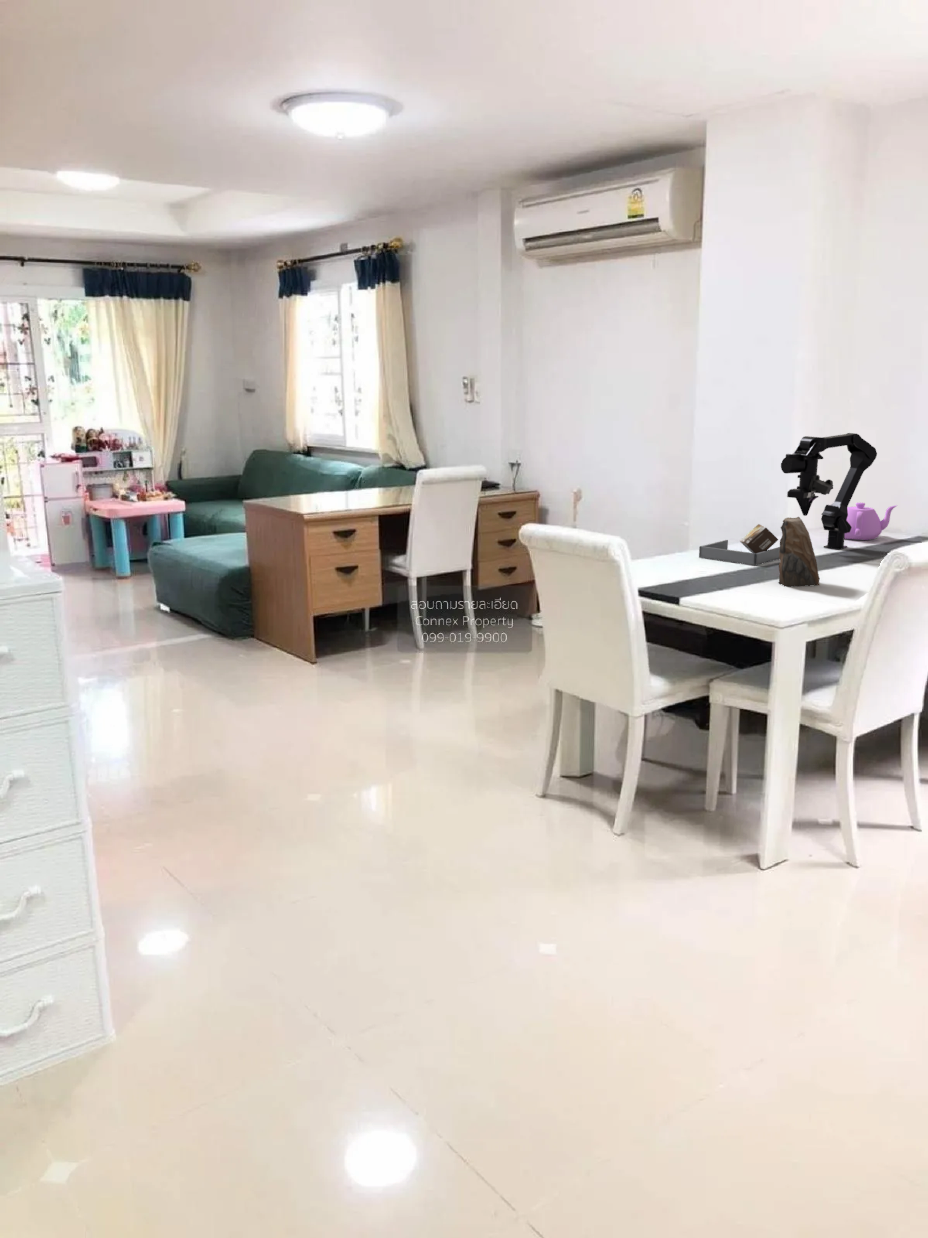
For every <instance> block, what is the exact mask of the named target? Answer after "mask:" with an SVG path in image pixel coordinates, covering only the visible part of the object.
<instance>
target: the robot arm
mask: <svg viewBox="0 0 928 1238" xmlns="http://www.w3.org/2000/svg"><path fill="white" fill-rule="evenodd" d="M844 446H846V447H847V451H848V452H849V453H850V457H849V463H850V465H849V466H850V467H849V469H848V471H847V473H846V475H845V477H844V480H843V482H842V485H841V486H840V488H839V491H838V493H837V494H836V497H835V499H834V501H833V502H832V503H831V504H826V505H825V506H824V509H823V512H822V513H821V519H820V520H821V523H822V526H823V527H822V528H823V530H824V531H828V536H827V545H823V548H826V549H835V550H843V549H847V548H848V545H845V533H849V532H850V530H851V528H852V527H851V525H850V524H849V523H848V522H847V517H848V510H847V507H849V504H850V503H851V499H852V498H853V495H854V493H855V491H856V489H857V487H858V485H859V483H860V481H861V478H862V476H863V474H864V472H865V471H866V470H867V469H869V468H870V467H871V466H872V464H873V463H874V462H875V460H876V458H877V455H878V452H877V450H876V447H874V446H872V444H871V443H869V442H868V441H866V440H865V439H864V438H862V436H861V435H860V434H858V433H852V432H847V433H845V434H836V435H830V436H824V437H821V436H820V437H818V436H809V435H808V436H803V437H801V440H800V441H799V443H798V444H797V446H796V447H795V449H794V451H793V452H792V454H791V453H786V454H785V457H784V458H783V459H782V461H781V462H780V469H781V471H782V472H783V473H784V474H797V479H799V484H798V486H796V488H791V489H789V490H788V491H787V493H786V494H787V495H786V497H787V498H790V499H791V498H792V499H796V502H797V504H798V506H799V509H800V511H801V513H802V516H804V517H805V516H808V514H809V511H810V509H811V507H812V504H813V502H814V500H816V499H817V498H820V497H819V495H816V494H820V495H823V496H824V495H825V496H826V495H829V494H830V493H831V491H832V490H833V489H834V483H833V480H831V479H826V480H821V479H820V474H818V468H819V467H818V464H819V460H823V459H824V456H822V455H821V454H820V453H822V452H824V451H825V450H827V449H831V448H832V449H833V448H838V447H844Z"/></svg>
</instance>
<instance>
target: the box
mask: <svg viewBox="0 0 928 1238" xmlns="http://www.w3.org/2000/svg"><path fill="white" fill-rule="evenodd" d="M728 545H729V540H728V539H725V540H719V541H715V542H713V543H708V544H707V543H706V544H703V545H700V546H699V549H698V550H699V551H698V558H700V559H706V560H712V561H713V560H714V561H719V560H720V561H719V562H721V561H722V562H727V563H734V564H740V563H741V565H748V566H753V567H757V566H760V565H763V564H767V563H771V562H774V561H776V560H777V561H778V560H780V558H779V548H780V546H778V547H777V546H776V547H774V548H769V549H768V550H767V551H763V552H759V553H756V554H755V553H752V552H750V551H748V552H747V551H742V550H741V551H740V550H733V549H729V548H728V547H729V546H728ZM773 560H774V561H773ZM762 563H763V564H762Z"/></svg>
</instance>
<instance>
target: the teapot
mask: <svg viewBox="0 0 928 1238" xmlns="http://www.w3.org/2000/svg"><path fill="white" fill-rule="evenodd" d="M897 506H898V505H897V504H896V505H892V506H888V508H887V509H886V510H885V515H884V518H883V519H880V517H879V515H878V513H877V511H876V510H875V508H873V507H869V506H866V503H865V502H855V506H848V507H847V510H848V517H847V522H848V523H849V524H850V525H851V527H852V528H851V530H850V532H849V533H845V538H844V540H862V541H870V540H875V539H877V538H879V536H880V535H881V534H882V532H883V531H884V530H885V529H886V528H888V526H889V524H890V520H891V513H892V512H893V510H894V509H895V508H896V507H897Z"/></svg>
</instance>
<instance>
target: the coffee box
mask: <svg viewBox="0 0 928 1238" xmlns="http://www.w3.org/2000/svg"><path fill="white" fill-rule="evenodd" d="M778 541H779V539H778V538H777V536H775V534H774V533H773V532H771V531H770V529H768V527H766V526H764V525H762V524H759V523H758V524H756V525H755V526H754V527H753V528H752V529H751V530H750V531H749V532H748V533H746V534H745V535H744V536H743V537H742V538H741V539H740V540H739V542H740V543H741V544H742V545H743V547H745V548H746V549H747V550H748V552H749V553H755V554H756V553H759V552H763V551H767V550H770V549H771V547H772V546H774V545H775V544H776V543H777V542H778Z"/></svg>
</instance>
